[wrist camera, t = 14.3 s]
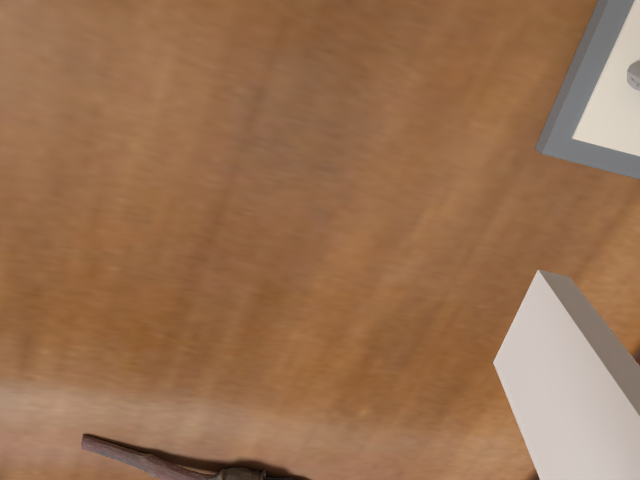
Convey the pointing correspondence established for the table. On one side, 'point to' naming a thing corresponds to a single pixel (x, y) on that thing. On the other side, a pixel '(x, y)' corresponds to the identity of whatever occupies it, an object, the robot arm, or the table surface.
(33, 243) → the table surface
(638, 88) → the electrical switch
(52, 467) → the table surface
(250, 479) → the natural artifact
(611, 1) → the plate
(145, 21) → the table surface
